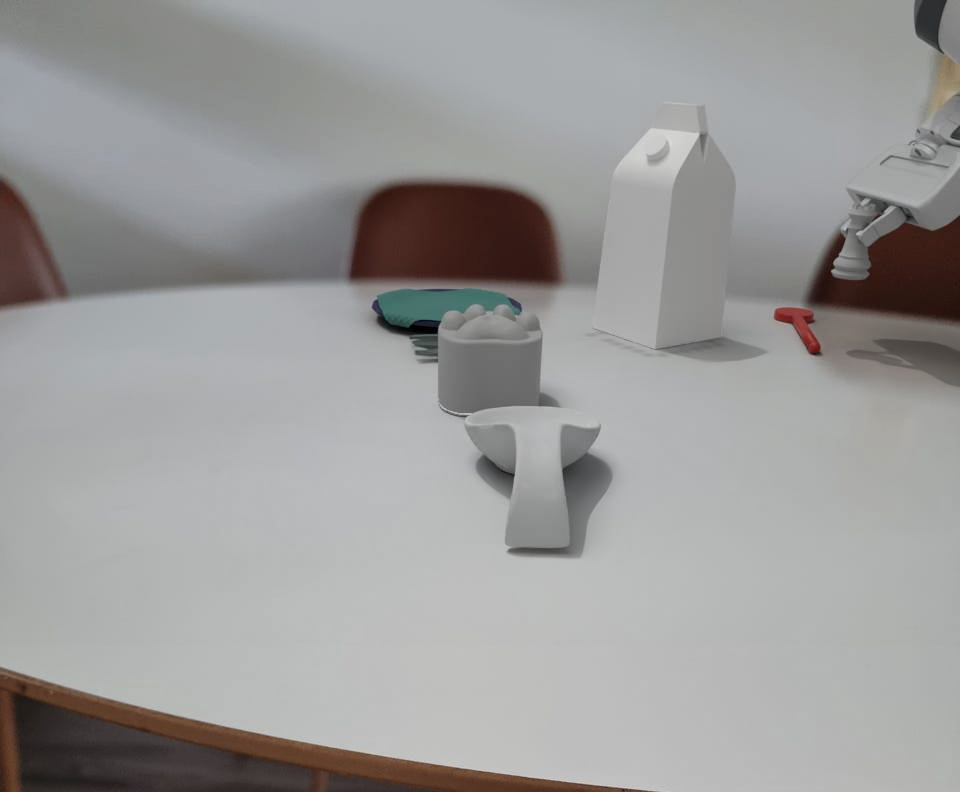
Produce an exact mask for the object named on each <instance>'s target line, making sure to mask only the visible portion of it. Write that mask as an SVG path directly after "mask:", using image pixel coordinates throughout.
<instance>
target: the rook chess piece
mask: <svg viewBox="0 0 960 792" xmlns="http://www.w3.org/2000/svg"><path fill="white" fill-rule="evenodd" d="M868 205H869V204H865V203H864V206H863V205H861V203H856V204H855V203H853V204H852V208H851V209H850V210H849V211H847V214H848V216H849V219H850V218H851V222H850V224H849V225H848V226H847V227H848V234H847V238H845V241H844V244H843V247H842V248H841V251H840V252H839V253H838V257H836V258H835V259H834V261H833V263H832V264H833V267H834V268H833V269H831V270H830V272H831V275H832V276H833V277H834V278H836V279H840V280H848V281H862V280H867V278H868V277H869V276H870V275H871V274H870V272H869V271H868V270H869V269H871V267H872V263H871V261H870V260H869V258H870V255H869V246H865V245H862V244H860V242H859V240H858V239H857V238H856V233H857V231H859V230H860V229H861V228H862V227H863V226H864V225H865V224H866V223H868V224H870V223H872V222H873V221H874V220H875V218H876V217H877V216H878V215H877V213H876V211H875V208H876V205H873V204H871V205H870V206H868Z"/></svg>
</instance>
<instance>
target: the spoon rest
mask: <svg viewBox="0 0 960 792" xmlns="http://www.w3.org/2000/svg"><path fill="white" fill-rule="evenodd" d="M463 426H464V429H465V431H466V433H467V435H468V437H469V439H470V441H471V442H472V444H473V445H474V446H475V447H476V448H477V450H478V451H479V452H481V454H483V455H484V456H485V457H486V458H487V459H489V460H490V461H491V462H493V463H494V464H495V466H496V467H497V468H498V467H499V468H500V469H499V468H498V469H499V470H501V469H502V470H503V472H504V471H505V473H507V472H508V473H507V474H510V473H512V474H511V475H514V474H515V475H514V477H513V485H512V491H511V495H510V496H511V497H510V501H509V506H508V512H507V516H506V517H507V519H506V523H505V530H504V544H505V546H507V547H510V548H533V549H535V548H536V549H537V548H538V549H562V548H568V547H569V546H570V543H571V529H570V518H569V509H568V503H567V497H566V490H565V482H564V475H563V470H564V469H565V468H567V467H568V466H570V465H571V464H573V463H575V462H577V461H578V460H580V459H581V458H582V457H583V456H584V455H585V454H586V453H587V452H588V451H589V450H590V448H591V447H592V446H593V445H594V444H595V442H596V440H597V439H598V436H599V435H600V432H601V429H602V424H601V422H600V420H598V418H596V417H594V416H593V415H591V414H588V413H586V412H583V411H579V410H575V409H572V408H565V407H556V406H545V405H543V406H542V405H541V406H540V405H539V406H510V407H499V408H491V409H485V410H481V411H478V412H475V413H473V414H471V415H469V416H466V417H465V418H464V421H463ZM502 470H501V471H502Z"/></svg>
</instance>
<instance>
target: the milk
mask: <svg viewBox="0 0 960 792" xmlns="http://www.w3.org/2000/svg"><path fill="white" fill-rule="evenodd" d="M610 181H611V182H610V189H609V194H608V204H607V210H606V219H605V226H604V234H603V241H602V247H601V255H600V263H599V272H598V279H597V285H596V286H597V287H596V293H595V299H594V300H595V301H594V308H593V314H592V323H591V329H594V330H596V331H599V332H603V333H605V334H609V335H610V336H611V335H612V336H615V337H618V338H621V339H623V340H626V341H629V342H632V343H635V344H637V345H641V346H644V347H646V348H650V349H653V350H659V349H665V348H670V347H677V346H682V345H688V344H692V343H697V342H698V343H699V342H705V341H710V340H716V339H721V338H722V335H723V334H722V333H723V325H724V324H723V323H724V314H725V304H726V303H725V302H726V294H727V293H726V292H727V282H728V274H729V273H728V272H729V263H730V262H729V260H730V252H731V251H730V250H731V239H732V232H733V231H732V229H733V220H734V211H735V210H734V209H735V200H736V199H735V198H736V187H737V181H736V175H735V173H734V170H733V167H731V164H730V163H729V161H728V160H727V159H726V157H725V156H724V154H723V153H722V151H721V149H720V148H719V147H718V145H717V144H716V142H715V141H714V139H713V138H712V136H711V134H709V123H708V119H707V111H706V106H705V104H695V103H683V102H671V101H661V102H660V103H659V105H658V107H657V111H656V113H655V115H654V118H653V121H652V123H651V128H649V129H648V130H647V132H646V133H645V134H644V135H643V136H642V137H641V138H640V139H639V140H638V142H637V143H636V144H635V145H634V146H632V148H631V149H630V150H629V151H628V152H627V153H626V155H624V156H623V158H622V159H621V160H620V162H619V163H618V164H617V166H616V167H615V169H614V172H613V174H612V176H611V180H610Z"/></svg>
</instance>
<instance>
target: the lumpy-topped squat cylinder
mask: <svg viewBox="0 0 960 792" xmlns="http://www.w3.org/2000/svg"><path fill="white" fill-rule="evenodd" d="M540 323H541V322H540V320H539V317H538V316H537V315H536V314H535V313H533V312H532V311H526V312H525V311H524V312H523V313H522V312H521V313H520V315H519V316H517V315H514V313H513V311H512V309H511V308H510V307H509V306H508V305H499V306H497V307H496V308H495V309H494V311H485V309H484V308H483V307H482V306H481V305H478V304H475V305H472V306H470V307H469V308H468V309H467V310H466V311H465V313H464V314H461V313H460V312H458V311H448V312H446V313H445V314H444V316H443V318H442V321H441V323H440V325H439V327H437V328H438V329H437V334H438V355H437V399H438V398H439V401H438V400H437V402H438V405H439V408H440V409H441V410H442V411H443V412H445V413H446V414H450V415H454V416H457V417H468V416H469V415H458V414H453V413H450V412H447V411H445V410H444V409H442V408H441V407H440V404H441V405H442V406H443V407H444V408H446V409H447V410H450V411H453V412H457V413H472V414H473V413H475V412H478V411H481V410H485V409H491V408H499V407H510V406H540V389H541V375H542V374H541V371H542V355H543V353H542V352H543V339H544V337H543V335H544V334H543V333H544V332H543V330H542V328H541V324H540ZM439 402H440V404H439Z"/></svg>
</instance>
